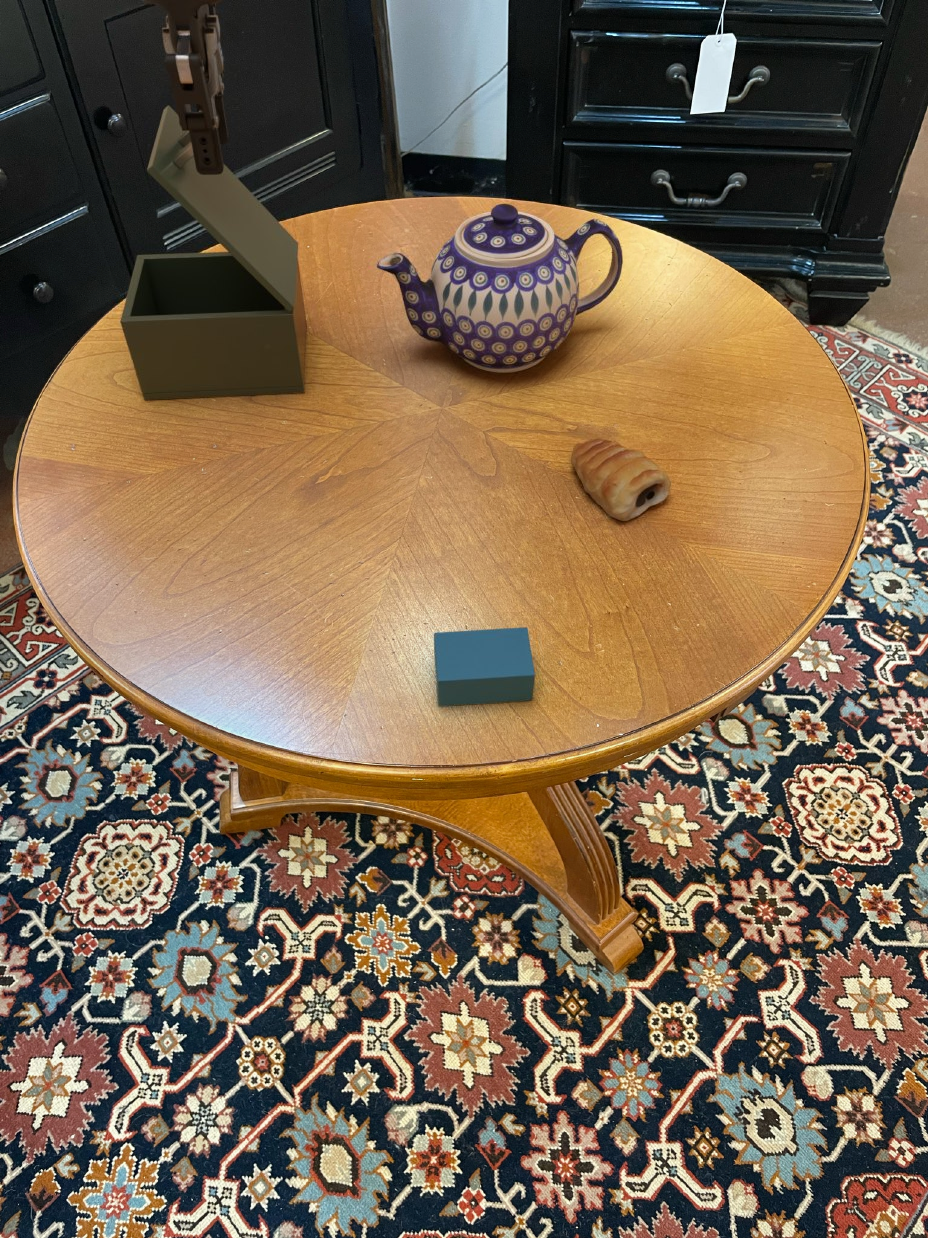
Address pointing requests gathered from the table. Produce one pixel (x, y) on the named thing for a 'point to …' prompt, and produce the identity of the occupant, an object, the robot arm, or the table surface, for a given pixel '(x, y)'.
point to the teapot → (502, 288)
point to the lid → (226, 211)
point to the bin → (211, 329)
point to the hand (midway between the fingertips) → (213, 156)
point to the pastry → (619, 477)
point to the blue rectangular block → (483, 666)
